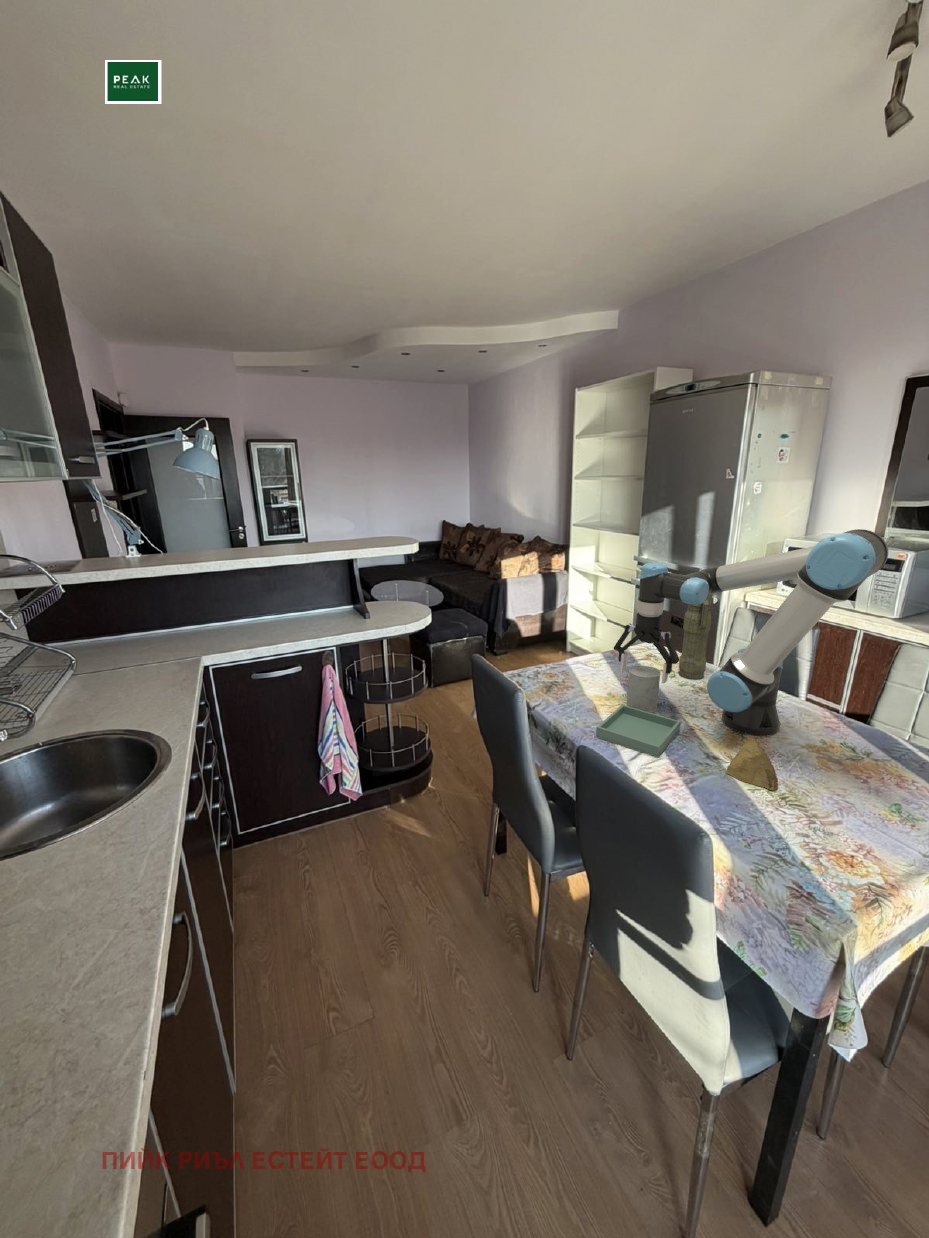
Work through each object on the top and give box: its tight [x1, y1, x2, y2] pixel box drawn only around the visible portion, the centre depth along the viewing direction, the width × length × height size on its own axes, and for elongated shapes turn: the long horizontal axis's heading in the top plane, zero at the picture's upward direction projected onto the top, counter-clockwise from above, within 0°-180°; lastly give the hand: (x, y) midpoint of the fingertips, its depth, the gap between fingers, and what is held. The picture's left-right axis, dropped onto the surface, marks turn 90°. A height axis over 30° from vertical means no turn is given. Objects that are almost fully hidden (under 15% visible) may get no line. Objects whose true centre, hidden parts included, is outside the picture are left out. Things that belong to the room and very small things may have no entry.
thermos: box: [678, 593, 714, 681], centre depth 183 cm, size 9×12×35 cm
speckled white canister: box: [625, 665, 661, 713], centre depth 164 cm, size 10×10×12 cm
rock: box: [724, 738, 779, 791], centre depth 125 cm, size 11×9×10 cm
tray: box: [595, 704, 681, 759], centre depth 149 cm, size 18×18×3 cm
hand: (643, 676), depth 163 cm, fingers open, 13 cm apart
